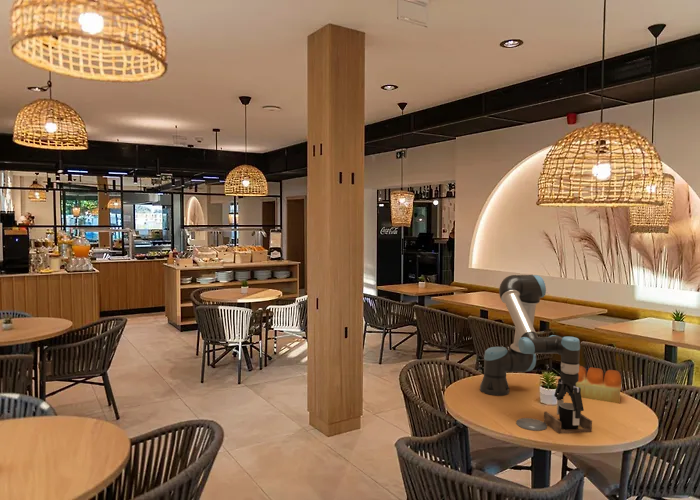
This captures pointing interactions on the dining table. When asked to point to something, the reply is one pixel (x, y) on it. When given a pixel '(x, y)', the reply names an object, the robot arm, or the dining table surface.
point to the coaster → (531, 424)
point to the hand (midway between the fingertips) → (567, 419)
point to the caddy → (556, 425)
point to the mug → (567, 416)
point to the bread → (599, 384)
